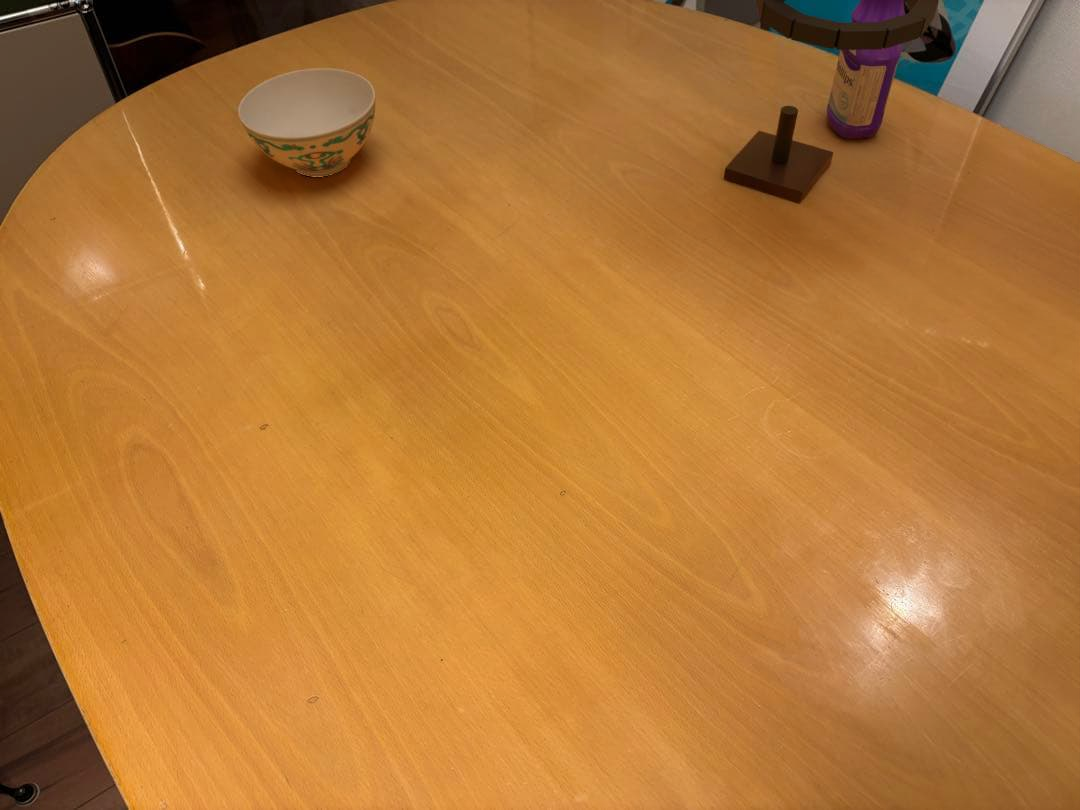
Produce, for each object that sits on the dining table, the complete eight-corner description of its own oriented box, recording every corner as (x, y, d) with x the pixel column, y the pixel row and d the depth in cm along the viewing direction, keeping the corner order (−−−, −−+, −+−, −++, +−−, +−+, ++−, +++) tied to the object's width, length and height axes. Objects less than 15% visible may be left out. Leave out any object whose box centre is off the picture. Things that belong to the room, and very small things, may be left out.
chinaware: (237, 195, 98) (216, 133, 92) (284, 124, 108) (267, 65, 102) (365, 203, 96) (351, 141, 90) (400, 131, 106) (390, 70, 100)
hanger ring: (951, -5, 78) (957, -23, 77) (899, 65, 70) (905, 46, 69) (794, -36, 84) (797, -53, 83) (730, 25, 76) (732, 7, 75)
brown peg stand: (830, 163, 98) (846, 102, 93) (800, 203, 93) (814, 141, 88) (756, 141, 102) (767, 81, 96) (723, 179, 97) (732, 117, 91)
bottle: (817, 113, 106) (850, -37, 93) (863, 109, 106) (902, -42, 93) (837, 145, 101) (875, -9, 88) (885, 140, 101) (930, -13, 88)
